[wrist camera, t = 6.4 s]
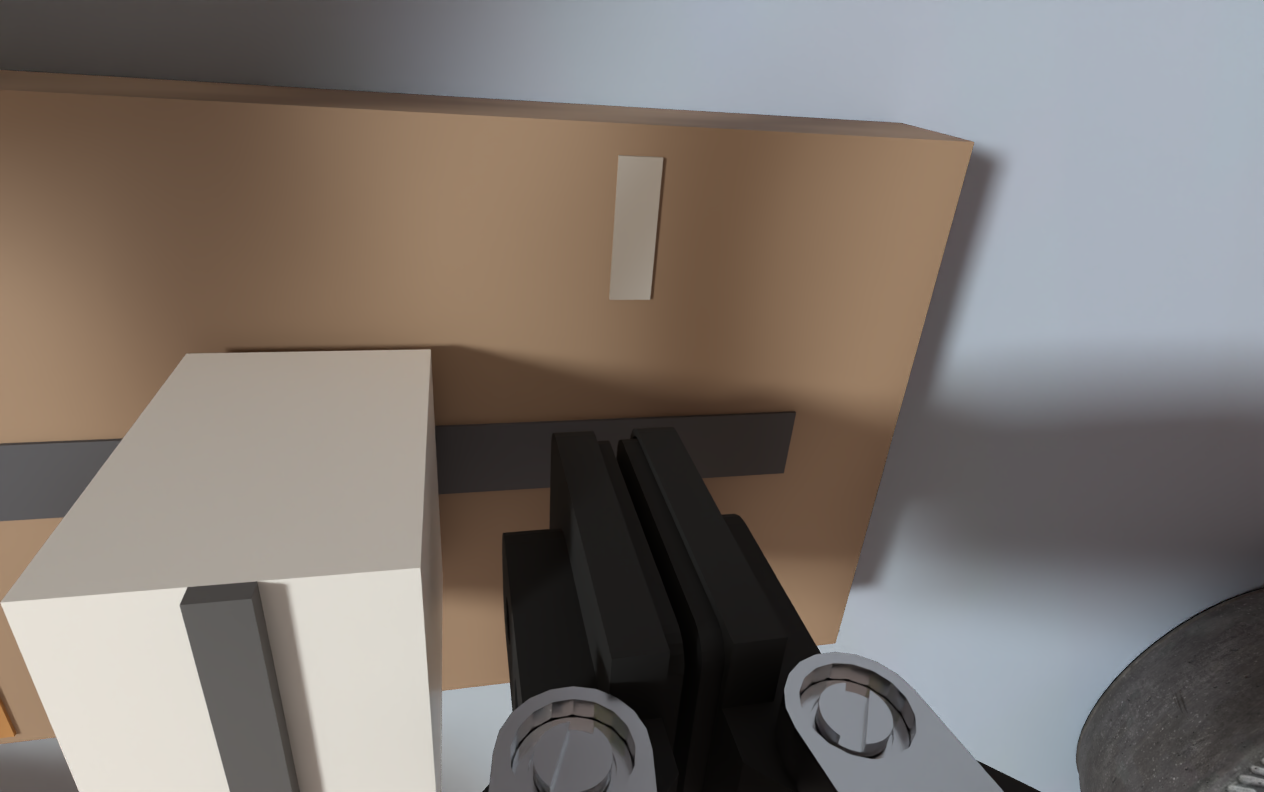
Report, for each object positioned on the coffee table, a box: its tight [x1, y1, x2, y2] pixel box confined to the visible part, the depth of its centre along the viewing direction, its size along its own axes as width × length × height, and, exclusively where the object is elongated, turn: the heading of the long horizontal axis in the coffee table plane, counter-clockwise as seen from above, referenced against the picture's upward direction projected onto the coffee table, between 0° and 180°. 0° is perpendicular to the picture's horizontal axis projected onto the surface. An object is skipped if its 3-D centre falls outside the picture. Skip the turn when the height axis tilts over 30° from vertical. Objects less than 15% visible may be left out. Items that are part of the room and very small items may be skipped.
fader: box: [0, 349, 443, 792], centre depth 9 cm, size 3×4×5 cm
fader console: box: [0, 70, 974, 744], centre depth 12 cm, size 20×10×2 cm, turn 86°
